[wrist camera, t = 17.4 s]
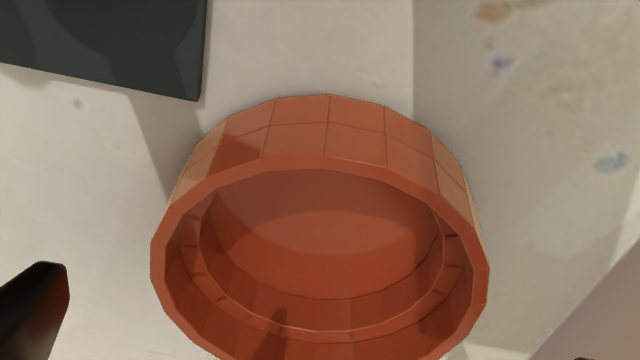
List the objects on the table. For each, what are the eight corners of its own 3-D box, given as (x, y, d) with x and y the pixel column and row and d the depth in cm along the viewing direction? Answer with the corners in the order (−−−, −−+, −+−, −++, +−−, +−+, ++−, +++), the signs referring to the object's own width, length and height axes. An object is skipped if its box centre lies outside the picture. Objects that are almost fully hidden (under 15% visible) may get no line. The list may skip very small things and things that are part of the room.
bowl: (520, 126, 22) (550, 199, 18) (418, 328, 30) (426, 406, 26) (187, 57, 21) (151, 119, 17) (174, 284, 29) (148, 359, 26)
